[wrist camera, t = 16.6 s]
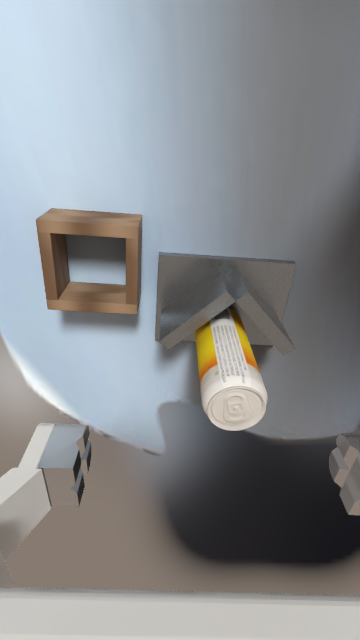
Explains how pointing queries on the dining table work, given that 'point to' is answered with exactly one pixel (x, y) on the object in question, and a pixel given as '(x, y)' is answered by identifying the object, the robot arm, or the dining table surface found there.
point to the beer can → (229, 373)
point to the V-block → (222, 296)
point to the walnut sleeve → (56, 261)
